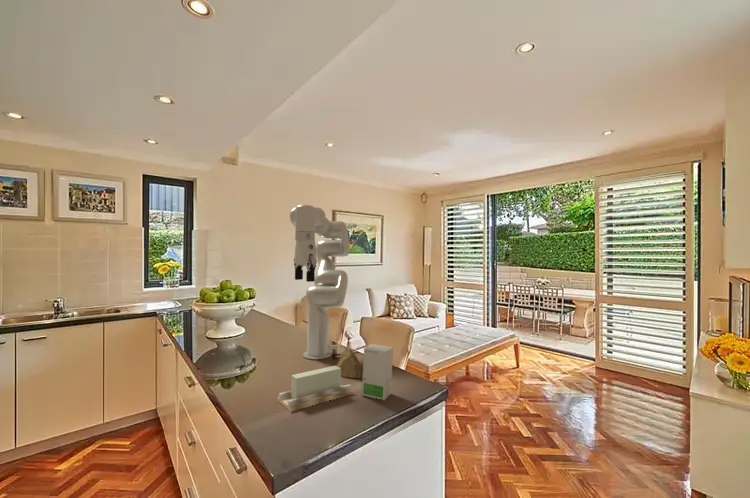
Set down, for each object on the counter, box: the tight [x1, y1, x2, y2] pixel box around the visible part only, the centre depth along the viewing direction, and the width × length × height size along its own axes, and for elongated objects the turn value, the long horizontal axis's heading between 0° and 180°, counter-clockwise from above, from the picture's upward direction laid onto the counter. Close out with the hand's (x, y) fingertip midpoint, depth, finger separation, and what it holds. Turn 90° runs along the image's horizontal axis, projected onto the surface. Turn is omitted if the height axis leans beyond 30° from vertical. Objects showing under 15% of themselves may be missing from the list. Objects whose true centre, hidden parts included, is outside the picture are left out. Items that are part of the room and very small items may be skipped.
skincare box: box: [361, 343, 394, 401], centre depth 111 cm, size 8×7×16 cm
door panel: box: [290, 365, 342, 399], centre depth 109 cm, size 16×4×7 cm, turn 128°
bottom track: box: [276, 383, 354, 413], centre depth 109 cm, size 22×10×2 cm, turn 128°
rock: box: [336, 347, 363, 379], centre depth 128 cm, size 11×9×10 cm
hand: (304, 280), depth 133 cm, fingers open, 9 cm apart
